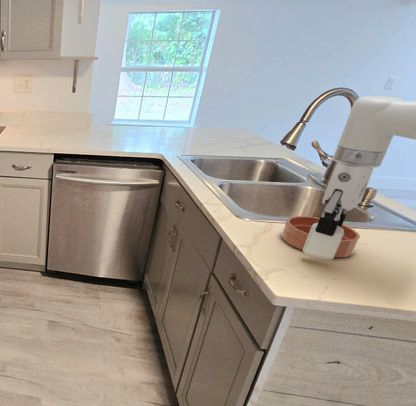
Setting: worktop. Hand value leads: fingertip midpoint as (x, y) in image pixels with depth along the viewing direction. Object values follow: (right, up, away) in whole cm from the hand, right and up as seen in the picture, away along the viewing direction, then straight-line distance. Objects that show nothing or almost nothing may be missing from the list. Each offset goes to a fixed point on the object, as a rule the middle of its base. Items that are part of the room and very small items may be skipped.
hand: (327, 230), depth 86 cm
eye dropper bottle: (0, -7, +3) cm, 7 cm away
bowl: (+8, -5, +11) cm, 14 cm away
